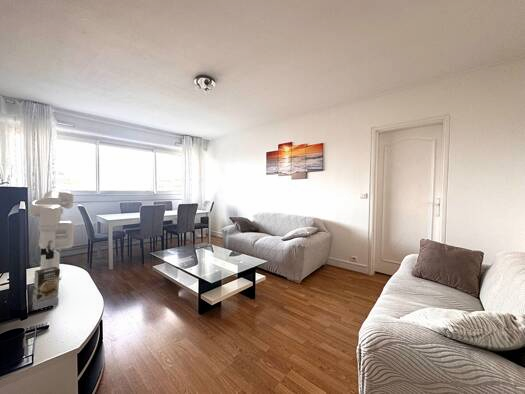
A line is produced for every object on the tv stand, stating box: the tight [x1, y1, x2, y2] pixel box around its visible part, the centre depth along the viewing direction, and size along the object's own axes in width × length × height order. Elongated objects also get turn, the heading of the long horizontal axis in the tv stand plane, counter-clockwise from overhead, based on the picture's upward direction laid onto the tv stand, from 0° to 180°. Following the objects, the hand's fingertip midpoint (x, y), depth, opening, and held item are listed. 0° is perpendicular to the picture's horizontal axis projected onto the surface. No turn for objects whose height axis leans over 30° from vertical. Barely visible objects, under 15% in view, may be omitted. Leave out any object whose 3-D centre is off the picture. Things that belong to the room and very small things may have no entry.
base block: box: [32, 294, 60, 310], centre depth 121 cm, size 11×10×5 cm
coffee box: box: [32, 267, 61, 301], centre depth 120 cm, size 9×6×16 cm
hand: (47, 256), depth 120 cm, fingers open, 9 cm apart
